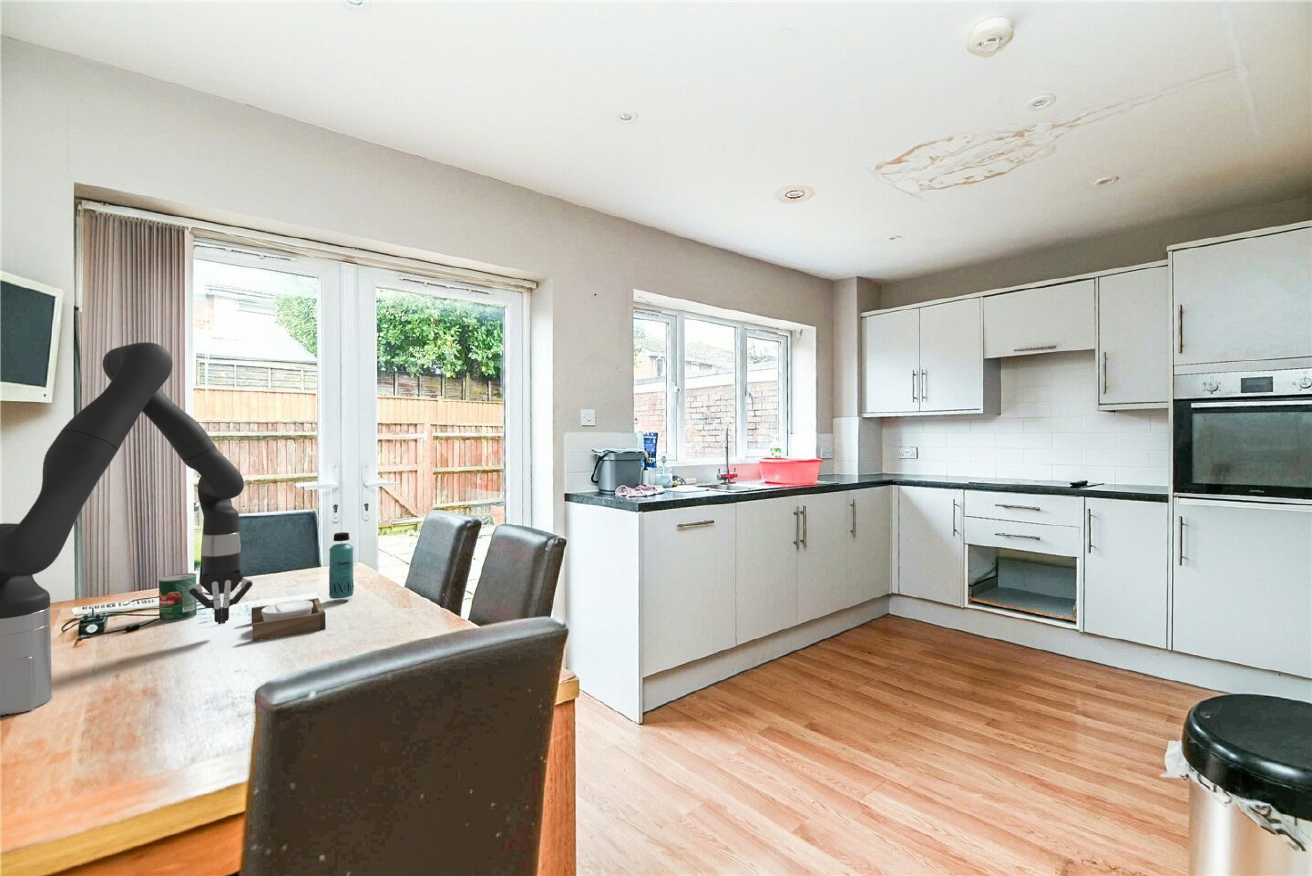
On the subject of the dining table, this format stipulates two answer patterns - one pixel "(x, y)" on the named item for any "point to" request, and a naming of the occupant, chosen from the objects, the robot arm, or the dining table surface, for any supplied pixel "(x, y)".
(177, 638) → the dining table surface
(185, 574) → the canned tomato
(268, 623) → the walnut bay
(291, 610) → the ramekin
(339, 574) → the beverage bottle
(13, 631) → the robot arm
